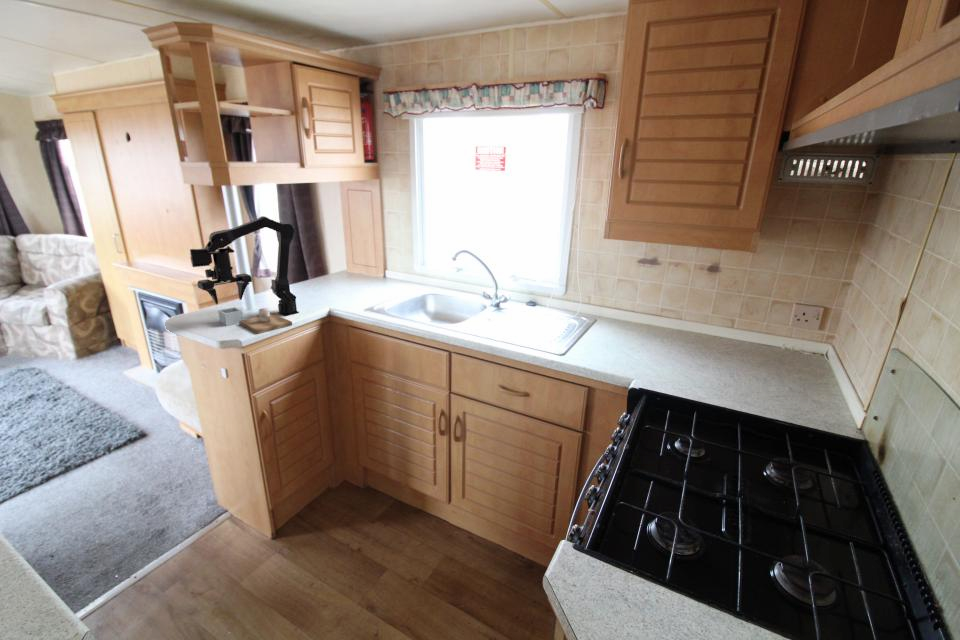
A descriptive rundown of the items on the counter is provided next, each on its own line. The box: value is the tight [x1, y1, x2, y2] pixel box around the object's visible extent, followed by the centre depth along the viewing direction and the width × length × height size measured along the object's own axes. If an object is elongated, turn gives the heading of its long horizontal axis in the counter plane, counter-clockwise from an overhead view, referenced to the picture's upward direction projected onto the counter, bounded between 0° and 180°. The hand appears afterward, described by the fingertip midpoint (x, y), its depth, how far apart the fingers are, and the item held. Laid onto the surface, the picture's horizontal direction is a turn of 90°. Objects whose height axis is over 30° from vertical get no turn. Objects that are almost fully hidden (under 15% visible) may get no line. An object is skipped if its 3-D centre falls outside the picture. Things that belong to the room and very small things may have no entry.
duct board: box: [238, 307, 293, 335], centre depth 184 cm, size 14×16×6 cm
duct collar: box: [218, 306, 244, 327], centre depth 186 cm, size 7×7×5 cm
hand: (228, 301), depth 184 cm, fingers open, 9 cm apart
